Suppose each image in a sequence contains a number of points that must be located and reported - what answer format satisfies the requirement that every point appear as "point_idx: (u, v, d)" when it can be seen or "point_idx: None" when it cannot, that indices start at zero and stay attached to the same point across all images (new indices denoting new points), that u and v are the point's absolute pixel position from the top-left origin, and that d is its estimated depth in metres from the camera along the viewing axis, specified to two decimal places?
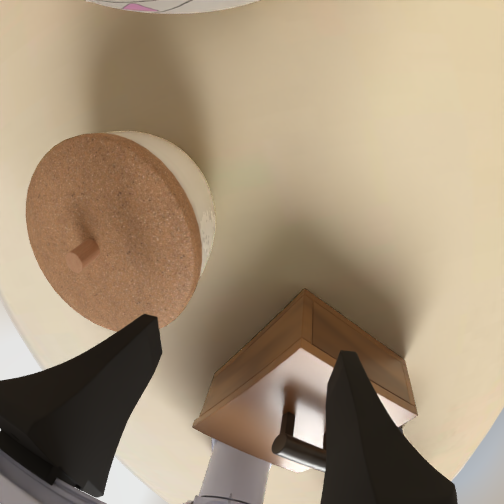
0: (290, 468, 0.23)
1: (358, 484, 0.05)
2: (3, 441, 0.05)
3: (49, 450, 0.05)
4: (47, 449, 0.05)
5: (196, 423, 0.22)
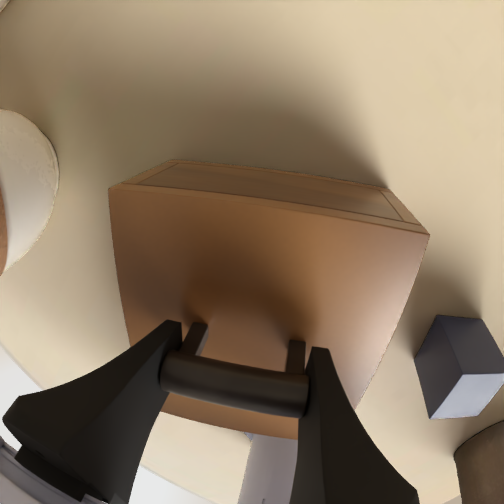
0: None
1: (315, 483, 0.06)
2: (3, 441, 0.05)
3: (80, 467, 0.05)
4: (78, 467, 0.05)
5: None
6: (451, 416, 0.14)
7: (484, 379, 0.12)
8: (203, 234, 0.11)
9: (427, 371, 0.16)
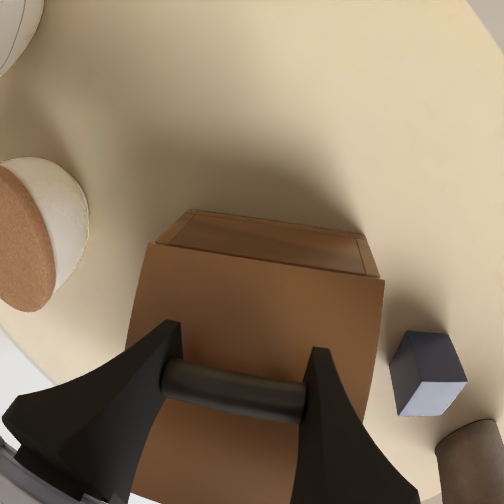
0: None
1: (316, 483, 0.06)
2: (3, 441, 0.05)
3: (79, 467, 0.05)
4: (78, 466, 0.05)
5: None
6: (417, 414, 0.18)
7: (442, 385, 0.17)
8: (217, 281, 0.14)
9: (398, 376, 0.21)
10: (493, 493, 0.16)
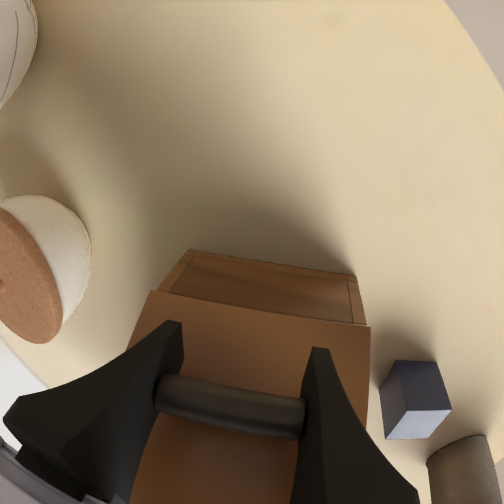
0: None
1: (315, 483, 0.06)
2: (3, 441, 0.05)
3: (81, 468, 0.05)
4: (79, 467, 0.05)
5: None
6: (403, 438, 0.19)
7: (426, 413, 0.18)
8: (213, 325, 0.15)
9: (386, 402, 0.22)
10: None
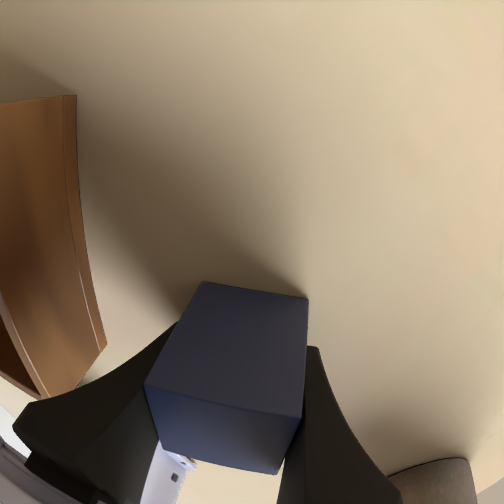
0: None
1: (297, 481, 0.06)
2: (3, 441, 0.05)
3: (95, 475, 0.05)
4: (93, 474, 0.05)
5: None
6: (205, 460, 0.09)
7: (214, 412, 0.07)
8: None
9: None
10: None
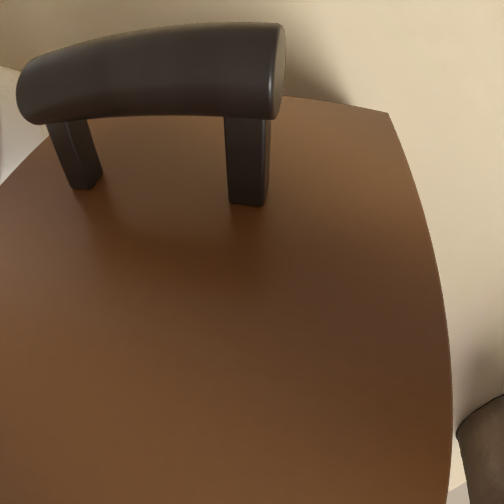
0: None
1: None
2: None
3: None
4: None
5: None
6: None
7: None
8: None
9: None
10: None
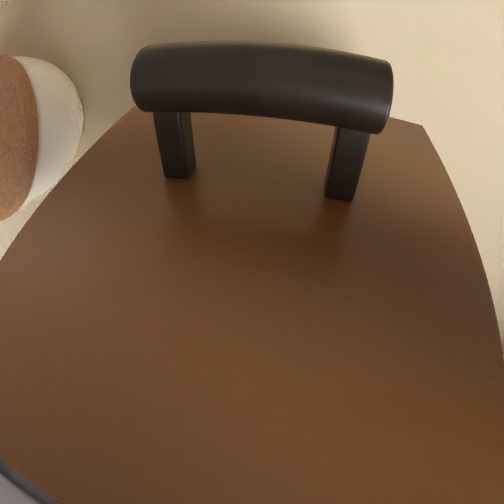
0: None
1: None
2: None
3: None
4: None
5: None
6: None
7: None
8: None
9: None
10: None
